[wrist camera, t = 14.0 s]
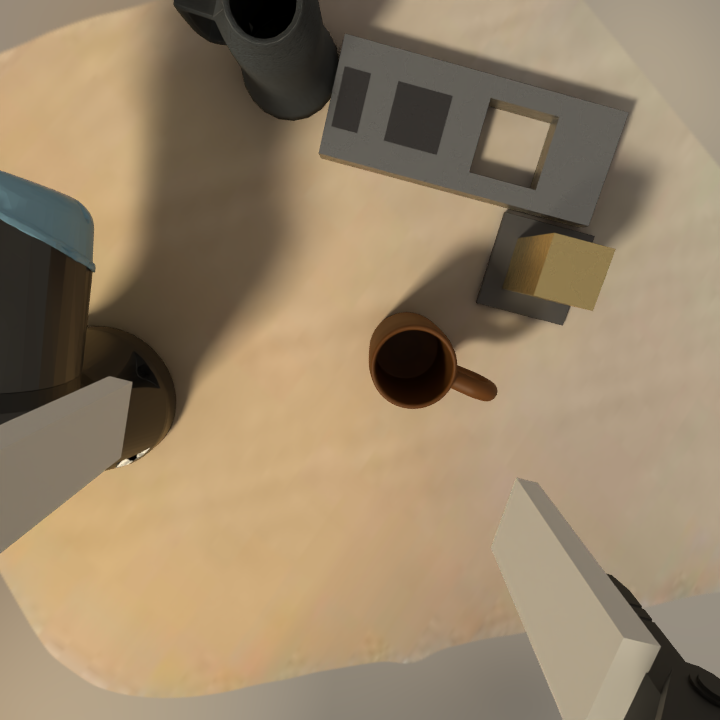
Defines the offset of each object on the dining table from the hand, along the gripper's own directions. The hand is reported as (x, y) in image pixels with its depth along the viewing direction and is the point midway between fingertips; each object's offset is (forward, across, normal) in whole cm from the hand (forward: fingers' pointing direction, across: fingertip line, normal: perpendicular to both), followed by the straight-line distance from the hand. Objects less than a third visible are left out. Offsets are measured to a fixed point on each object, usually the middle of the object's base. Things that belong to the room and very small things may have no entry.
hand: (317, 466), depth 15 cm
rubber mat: (+33, +16, +10) cm, 38 cm away
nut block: (+32, +16, +10) cm, 37 cm away
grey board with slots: (+33, +6, +20) cm, 39 cm away
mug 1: (+33, -13, +22) cm, 42 cm away
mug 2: (+33, +8, -1) cm, 34 cm away
